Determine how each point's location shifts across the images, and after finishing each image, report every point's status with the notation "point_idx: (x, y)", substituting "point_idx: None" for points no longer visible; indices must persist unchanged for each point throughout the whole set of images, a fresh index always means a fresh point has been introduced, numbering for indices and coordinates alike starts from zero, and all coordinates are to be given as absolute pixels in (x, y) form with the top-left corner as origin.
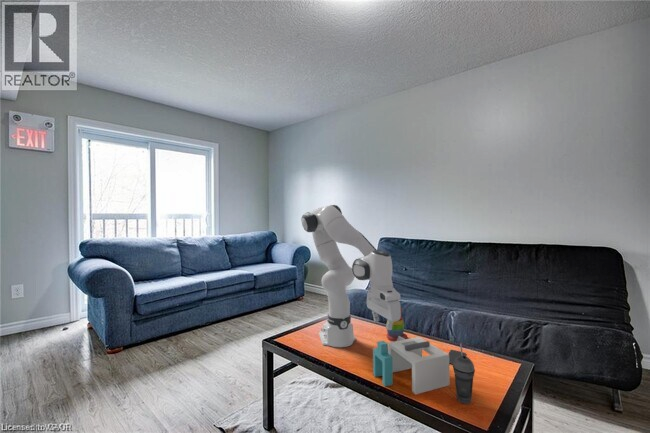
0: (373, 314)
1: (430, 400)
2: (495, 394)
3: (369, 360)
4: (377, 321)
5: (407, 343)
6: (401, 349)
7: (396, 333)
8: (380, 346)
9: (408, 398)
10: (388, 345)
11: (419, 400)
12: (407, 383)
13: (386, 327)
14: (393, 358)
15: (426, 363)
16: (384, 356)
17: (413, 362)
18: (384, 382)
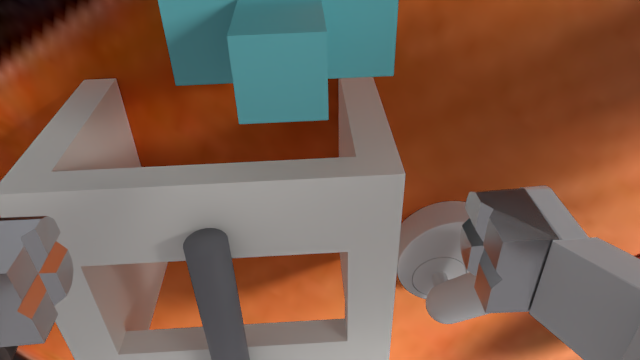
0: (626, 284)
1: (23, 121)
2: (57, 355)
3: (548, 9)
4: (471, 227)
5: (346, 290)
6: (240, 208)
7: None
8: (244, 25)
9: (48, 18)
10: (398, 159)
11: (25, 68)
12: (202, 98)
13: (17, 232)
14: (346, 131)
15: None
16: (194, 13)
17: (21, 185)
18: None
